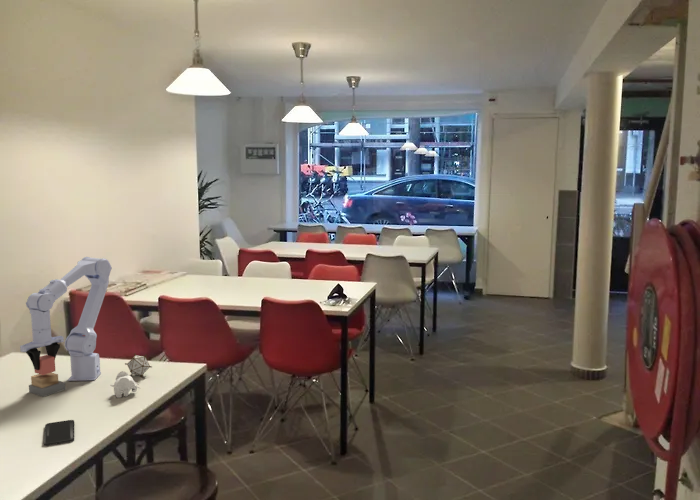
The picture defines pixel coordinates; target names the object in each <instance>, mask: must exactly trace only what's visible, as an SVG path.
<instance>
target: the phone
mask: <svg viewBox="0 0 700 500" xmlns="http://www.w3.org/2000/svg"><path fill="white" fill-rule="evenodd" d="M73 442H75V420H74V419H68V420H61V421H56V422H48V423H46V424H45V425H44V435H43V446H44V447H51V446H57V445H61V444H63V445H64V444H69V443H73Z"/></svg>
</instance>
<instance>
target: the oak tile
mask: <svg viewBox="0 0 700 500" xmlns="http://www.w3.org/2000/svg"><path fill="white" fill-rule="evenodd" d="M30 380H31V381H30V382H31V384H32V385H34V386H37V387H40V388H44V387H47V386H50V385H53V384H57V383H59V382H58V381H59V374H58V373H55V372H51V373H48V374H45V375H41V374H38V373H36V374H35V375H32V376H30Z"/></svg>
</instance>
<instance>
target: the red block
mask: <svg viewBox="0 0 700 500" xmlns="http://www.w3.org/2000/svg"><path fill="white" fill-rule="evenodd" d="M55 372H56V358H55V357H53V356H49V355H47V354H45V355H40V370H35V369H34V373H35V374H41V375H45V374H48V373H55Z"/></svg>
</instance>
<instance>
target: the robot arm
mask: <svg viewBox="0 0 700 500" xmlns="http://www.w3.org/2000/svg"><path fill="white" fill-rule="evenodd" d="M111 272H112V265H111V263H110V261H109V259H107V258H104V257H103V258H101V257H100V258H99V257H90V256H84V257H83V258H81V260H79V261H77V264H76V265H75V266H74V267H73V268H72V269H70V270H69V271H68V272H67V273H66V274H65V275H64V276H62V277H61V278H60V279H58V278H57V279H56V278H55V279H51V280H50V281H49V283H48V284H47V285H46V286H44V287H42V288H40V289H39V291H38V292H33V293H31V294H30V295H29V296H28V298H27V300H26V301H25V306H26V308H28V310H29V314H30V319H31V322H30V323H31V332H32V341H30V342H28V343H24V344H22V345H19V348H20V349H19V350H20V352H22V353H26V355H27V356H28V358H29V359H30V361H31V364H32V366H33V369H34V371H35V370H40V356H41V352H42V351H41V350H39V349H41V348H42V347H43V348H44V347H45V349H46V355H49V356H53V357H55V359H56V357H57V353H58V352H59V350H60V348H61V344H60V343H64V347H65V350H66V351H68V354H69V358H70V371H71V372H70V373H71V374H70V375H71V376H70V377H68V379H67V382H74V381H75V382H76V381H77V382H78V381H79V382H80V381H95V380H96V379H97V378H98V377H100V375H101V373H102V372H101V361H100V360H101V359H100V354H99V353H96V352H94V351H95V350H96V346H97V337H98V335H97V333H96V331H95V330H94V329H95V326H96V323H97V319H98V316H99V314H100V311H101V307H102V305H103V302H104V299H105V296H106V292H107V291H108V286H109V284H110V283H109V281H110V280H109V279H110V274H111ZM84 276H85V278H86V279H87V280H88V281H89V282H90V284H91V285H90V289H89V291H88V294H87V297H86V301H85V303H84V306H83V309H82V312H81V315H80V317H79V320H78V324H77V325H76V326H74V328H72V329H71V330H70V333H69V334H68V335H67V337H66V339H65V337H64V336H63V335H57V336H52V327H51V324H52V323H51V309H52V308H53V305H54V303H55V302H56V301H57V300H58V299H60V298H61V297H62V296H63V295H65V294H66V293H67V291H68V287H70V286H71V285H72V284H74V283H76V282H77V281H78V280H79V279H81V278H83V277H84Z"/></svg>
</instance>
